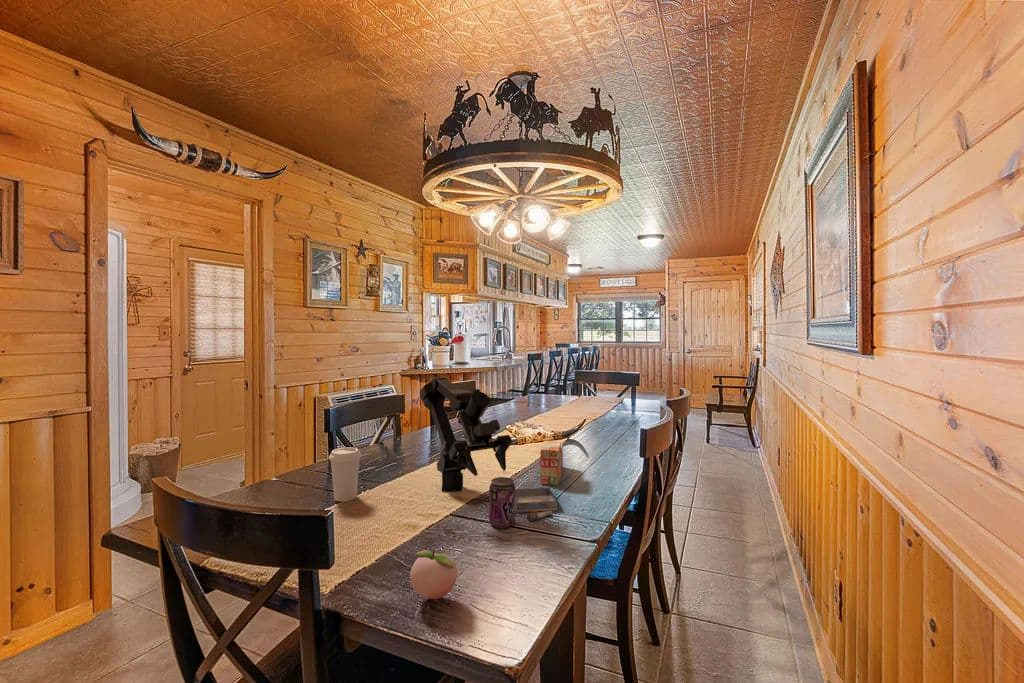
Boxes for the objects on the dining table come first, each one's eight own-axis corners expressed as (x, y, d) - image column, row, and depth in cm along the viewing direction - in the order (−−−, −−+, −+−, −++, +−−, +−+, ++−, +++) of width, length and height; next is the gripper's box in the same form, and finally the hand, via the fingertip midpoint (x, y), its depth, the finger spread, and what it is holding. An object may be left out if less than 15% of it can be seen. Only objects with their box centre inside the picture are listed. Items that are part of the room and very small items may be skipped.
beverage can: (496, 531, 124) (496, 486, 123) (485, 521, 130) (485, 478, 130) (519, 526, 127) (519, 482, 127) (507, 517, 133) (507, 475, 133)
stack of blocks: (546, 466, 182) (546, 434, 182) (562, 467, 181) (563, 435, 181) (540, 484, 161) (540, 448, 161) (558, 485, 160) (558, 449, 160)
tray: (516, 511, 137) (516, 503, 137) (511, 496, 149) (511, 489, 149) (557, 510, 138) (557, 501, 138) (549, 495, 151) (549, 487, 150)
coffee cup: (367, 497, 148) (366, 450, 148) (338, 506, 141) (337, 456, 141) (352, 490, 155) (351, 445, 154) (323, 498, 148) (323, 450, 147)
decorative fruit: (400, 606, 91) (400, 555, 90) (423, 585, 98) (423, 537, 98) (443, 617, 87) (443, 564, 87) (463, 594, 95) (463, 545, 95)
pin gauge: (531, 522, 130) (531, 515, 130) (526, 520, 131) (526, 513, 131) (553, 515, 134) (553, 508, 134) (548, 513, 136) (548, 506, 136)
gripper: (452, 414, 133) (470, 462, 124) (509, 408, 142) (529, 452, 133) (441, 436, 140) (457, 483, 131) (496, 429, 149) (514, 472, 140)
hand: (491, 472), depth 134 cm, fingers open, 9 cm apart
